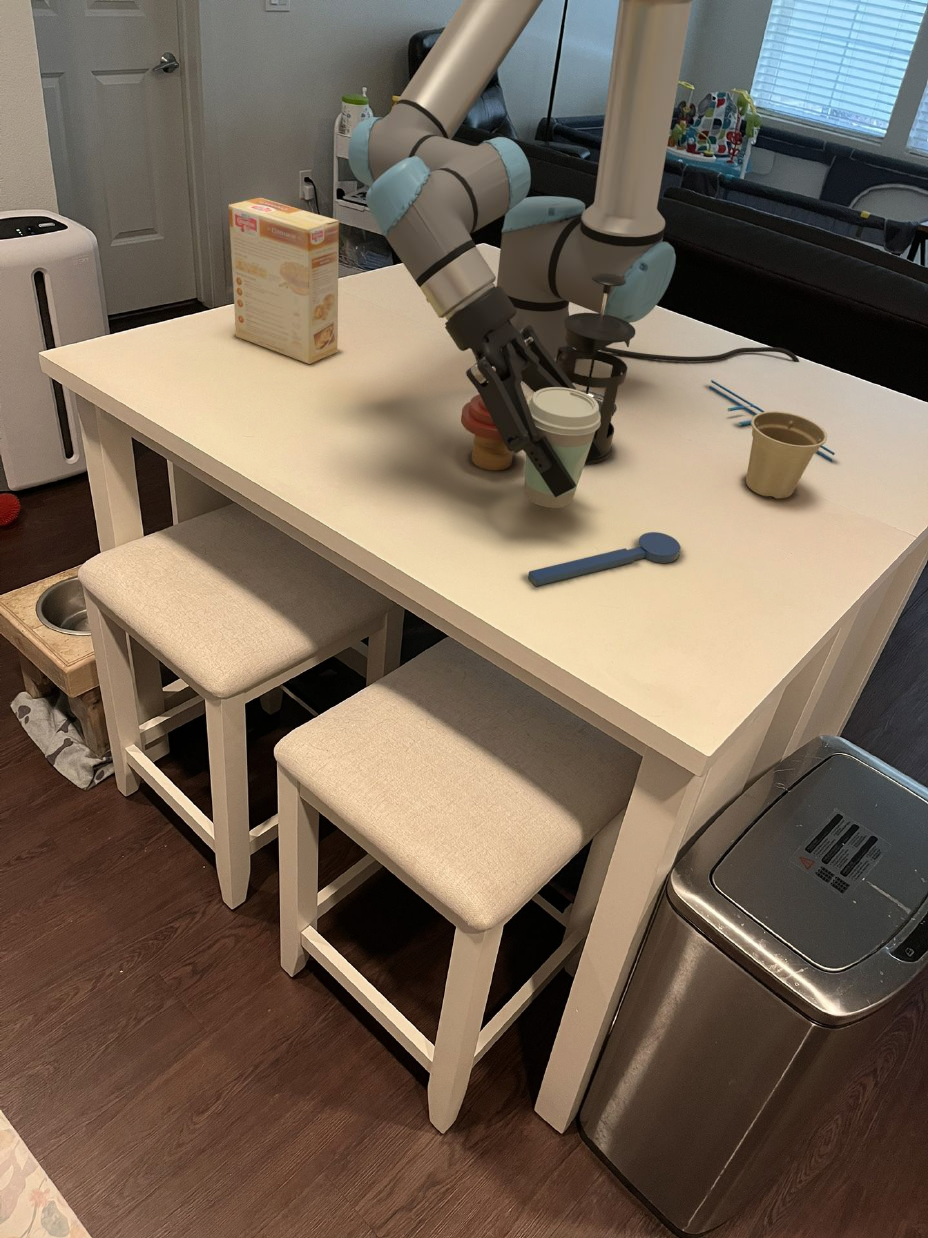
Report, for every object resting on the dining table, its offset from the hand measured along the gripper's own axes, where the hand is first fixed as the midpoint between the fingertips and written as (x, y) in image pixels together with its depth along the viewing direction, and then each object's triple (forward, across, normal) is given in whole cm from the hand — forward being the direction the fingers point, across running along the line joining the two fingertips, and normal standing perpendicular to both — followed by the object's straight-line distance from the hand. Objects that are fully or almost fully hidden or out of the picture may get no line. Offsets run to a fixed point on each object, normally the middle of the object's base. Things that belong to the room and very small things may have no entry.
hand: (580, 474), depth 106 cm
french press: (0, -18, -9) cm, 21 cm away
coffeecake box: (-35, -22, -44) cm, 60 cm away
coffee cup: (+1, 0, -5) cm, 5 cm away
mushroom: (-5, -8, -15) cm, 18 cm away
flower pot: (+18, -23, +9) cm, 31 cm away
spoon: (+9, +6, 0) cm, 11 cm away
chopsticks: (+14, -41, +5) cm, 44 cm away
